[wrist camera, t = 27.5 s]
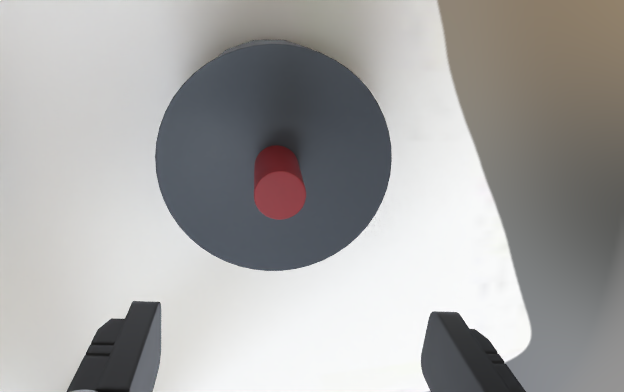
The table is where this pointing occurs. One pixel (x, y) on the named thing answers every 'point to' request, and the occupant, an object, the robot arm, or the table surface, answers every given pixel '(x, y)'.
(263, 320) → the table surface
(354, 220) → the lid
